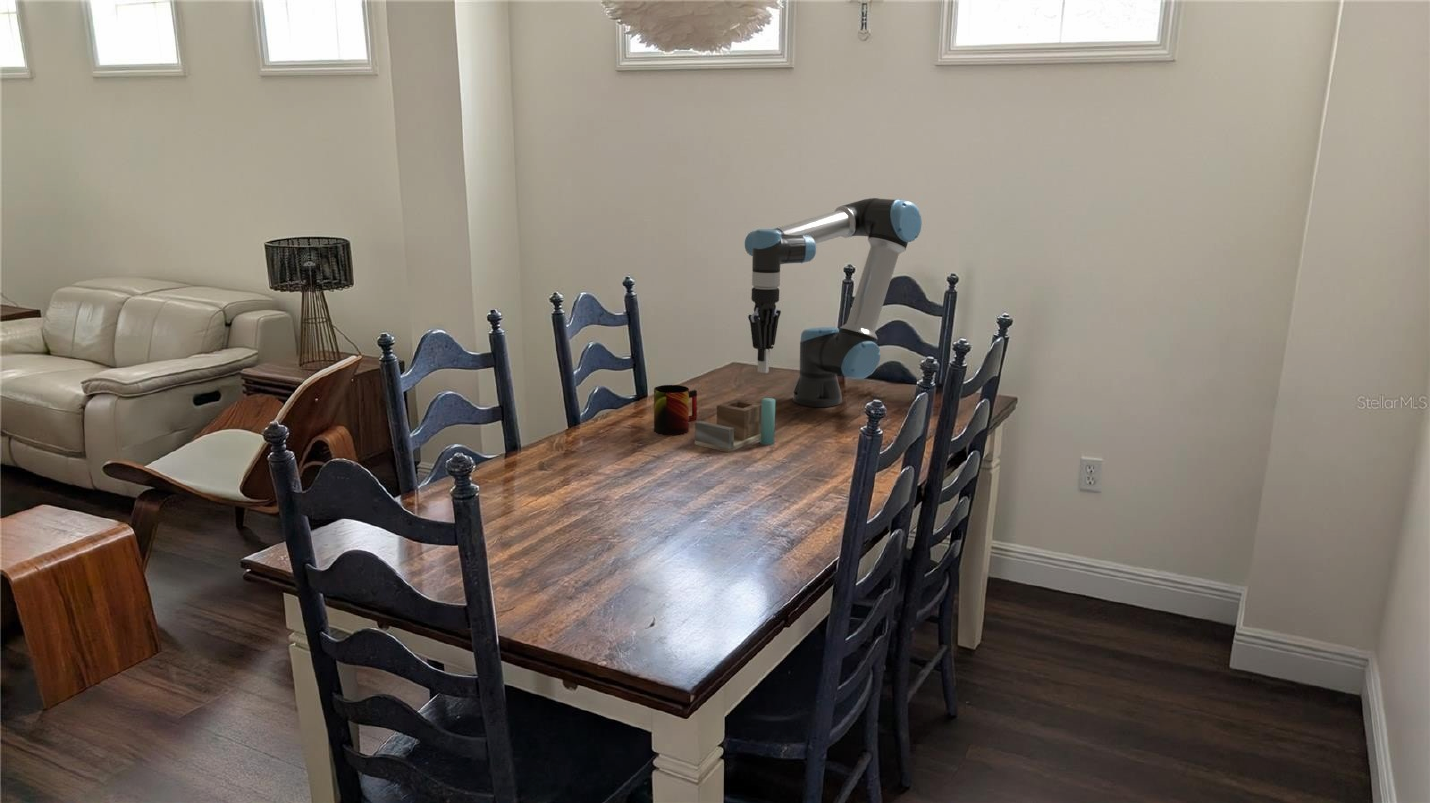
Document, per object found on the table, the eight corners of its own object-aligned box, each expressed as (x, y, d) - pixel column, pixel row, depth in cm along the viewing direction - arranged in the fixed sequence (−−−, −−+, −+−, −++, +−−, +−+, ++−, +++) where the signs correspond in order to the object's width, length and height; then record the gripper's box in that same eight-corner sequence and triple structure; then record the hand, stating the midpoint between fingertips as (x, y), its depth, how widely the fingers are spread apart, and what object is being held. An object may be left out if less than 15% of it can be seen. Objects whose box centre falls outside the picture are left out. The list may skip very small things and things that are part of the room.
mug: (697, 423, 285) (697, 383, 282) (683, 437, 272) (683, 394, 269) (664, 421, 287) (664, 380, 284) (649, 434, 274) (649, 391, 271)
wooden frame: (733, 429, 280) (733, 408, 278) (766, 436, 274) (767, 415, 272) (694, 444, 266) (694, 422, 264) (728, 452, 259) (729, 430, 258)
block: (735, 426, 279) (735, 399, 277) (762, 432, 274) (763, 404, 271) (716, 434, 271) (716, 405, 269) (743, 440, 266) (744, 411, 264)
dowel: (765, 440, 270) (766, 397, 267) (776, 442, 268) (777, 399, 265) (757, 443, 267) (759, 400, 264) (769, 446, 265) (770, 402, 262)
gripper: (767, 283, 279) (764, 366, 284) (740, 288, 268) (738, 374, 274) (790, 286, 274) (787, 370, 280) (764, 291, 264) (761, 378, 270)
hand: (763, 371), depth 277 cm, fingers closed
